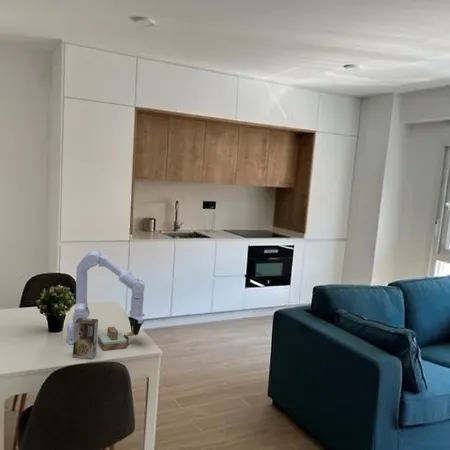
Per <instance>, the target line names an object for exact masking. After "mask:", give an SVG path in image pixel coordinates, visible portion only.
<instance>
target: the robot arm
mask: <svg viewBox="0 0 450 450" xmlns="http://www.w3.org/2000/svg"><path fill="white" fill-rule="evenodd" d="M95 266H97V267H100V268H101V267H105V268H107V269H108V270H109V271H111V272H112V273H113V274H115V275H116V276H117V277H118V281H120V282H121V283H122V284H123V285H125V286H126V287H127V288H128V289H131V298H130V310H129V316H128V317H127V319H128V321H129V326H130V332H132V326H133V333H134V335H136V336H138V335H139V333H140V331H141V330H140V329H141V327H142V325H143V324H144V319H143V317H145V313H143V310H144V309H143V307H144V294H145V293H144V292H145V283H144V282H143V280H141V279H140V278H138V277H136V276H134V275H133V274H132V272H131V271H128V270H123V269H122V268H121V267H119V266H118V265H117V264H116V263H115V262H114V261H113V260H111V259H110V258H109V257H108V256H106V254H104V253H102V252H101V251H100V250H98V249H93V250H91V251H89V252H88V253H87V254H86V255H85V256H84V257H82V259H81V260H80V262H79V263H78V265H77V266H76V280H75V281H76V284H75V286H76V287H75V288H76V289H75V307H74V312H73V315H72V322H70V323H67V325H66V337H65V338H66V341H67V343H68V345H73V343H74V323H75V322H76V320H77V319H78V318H87V319H88V318H89V316H90V313H91V312H90V309H89V306H88V271H89V270H90V269H91V268H93V267H94V268H95Z"/></svg>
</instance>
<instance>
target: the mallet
mask: <svg viewBox="0 0 450 450" xmlns="http://www.w3.org/2000/svg"><path fill="white" fill-rule="evenodd" d="M124 335H125V336H128V337H134V336H135V337H136V336H137V335H134V333H133V326H132V332H131V331H130V332H124V333H123V336H124Z"/></svg>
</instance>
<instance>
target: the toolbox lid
mask: <svg viewBox="0 0 450 450" xmlns="http://www.w3.org/2000/svg"><path fill="white" fill-rule="evenodd" d="M98 338H99V339H100V341H101V342H102V343H103V345H105V344H115V343H124V342H127V340H126V339H125V337H124V334H122V333H121V332H119V331H118V330H117V329H116V326H108V327H107V333H105V334H97V339H98Z"/></svg>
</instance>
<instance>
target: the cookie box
mask: <svg viewBox="0 0 450 450" xmlns="http://www.w3.org/2000/svg"><path fill="white" fill-rule="evenodd" d="M98 327H99V319H98V318H88V317H87V318H78V319H77V320H76V322H75V323H74V343H73V344H72V345H73V346H72V358H76V359H78V358H79V359H89V360H90V359H91V360H93V359H94V358H95V356H96V355H97V347H98V346H97V345H98V331H99V330H98V329H99V328H98Z"/></svg>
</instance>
